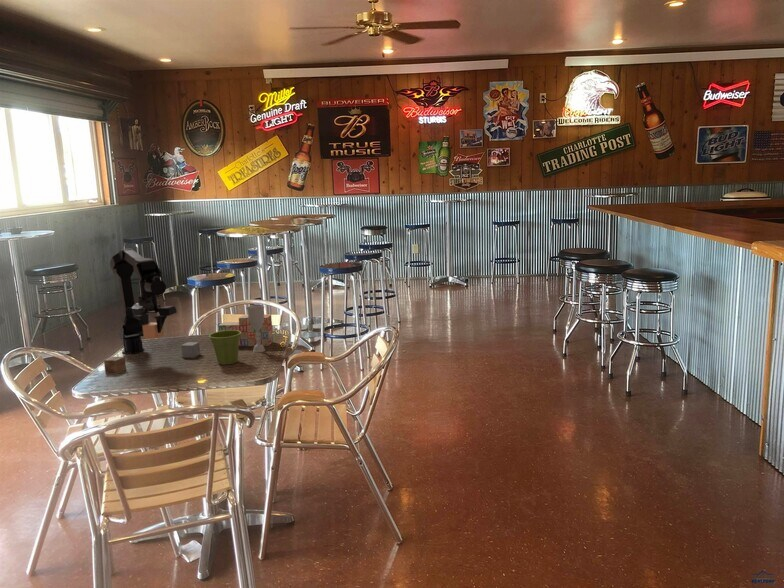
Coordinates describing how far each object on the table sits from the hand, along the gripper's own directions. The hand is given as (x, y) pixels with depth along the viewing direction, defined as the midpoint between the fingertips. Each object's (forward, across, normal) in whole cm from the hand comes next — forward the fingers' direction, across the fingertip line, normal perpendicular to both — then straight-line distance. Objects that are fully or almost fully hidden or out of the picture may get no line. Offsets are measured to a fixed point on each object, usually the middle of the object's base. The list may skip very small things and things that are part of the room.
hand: (153, 332), depth 232 cm
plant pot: (+12, +29, +2) cm, 31 cm away
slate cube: (+12, +9, +10) cm, 18 cm away
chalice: (+12, +34, +19) cm, 41 cm away
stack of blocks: (+12, +24, +29) cm, 39 cm away
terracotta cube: (+2, 0, 0) cm, 2 cm away
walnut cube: (+12, -9, -12) cm, 19 cm away
